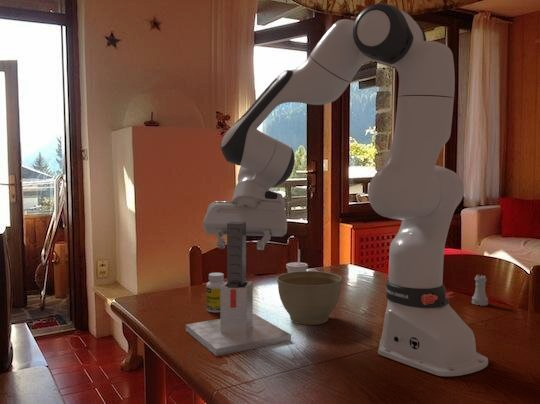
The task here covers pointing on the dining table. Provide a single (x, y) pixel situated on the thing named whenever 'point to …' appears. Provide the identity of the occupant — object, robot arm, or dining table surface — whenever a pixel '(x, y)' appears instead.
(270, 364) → the dining table surface
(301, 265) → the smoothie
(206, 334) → the stand
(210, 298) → the supplement bottle
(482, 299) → the rook chess piece
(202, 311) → the dining table surface
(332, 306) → the planter bowl
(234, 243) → the post
